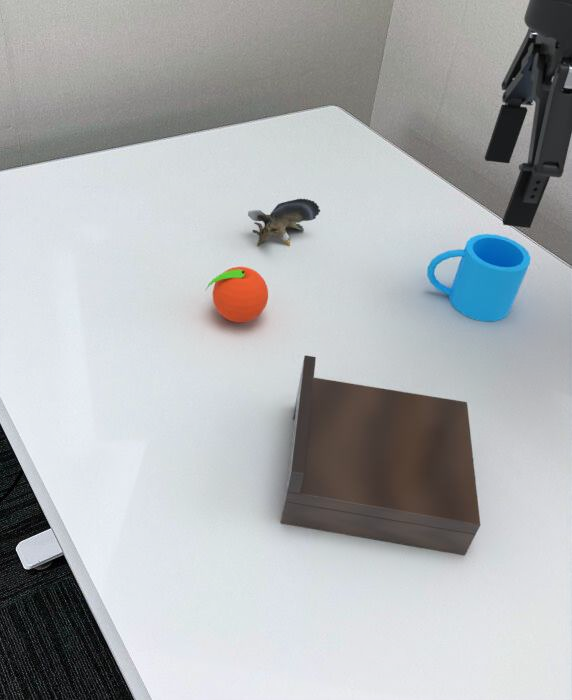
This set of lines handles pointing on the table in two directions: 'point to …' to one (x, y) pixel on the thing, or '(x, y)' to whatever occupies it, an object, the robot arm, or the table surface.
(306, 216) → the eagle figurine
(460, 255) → the mug
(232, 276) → the clementine
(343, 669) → the table surface
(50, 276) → the table surface
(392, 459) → the dark wooden box
